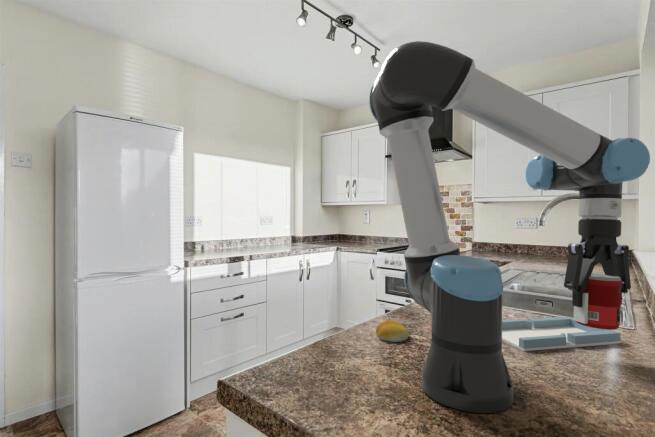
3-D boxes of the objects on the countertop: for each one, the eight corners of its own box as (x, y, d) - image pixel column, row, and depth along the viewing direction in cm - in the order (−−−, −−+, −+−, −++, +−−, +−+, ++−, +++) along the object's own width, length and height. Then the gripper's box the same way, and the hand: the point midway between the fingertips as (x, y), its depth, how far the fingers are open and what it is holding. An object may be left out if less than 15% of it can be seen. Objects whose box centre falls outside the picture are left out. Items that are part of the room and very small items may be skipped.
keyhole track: (523, 351, 81) (523, 340, 81) (482, 331, 96) (482, 321, 96) (620, 343, 86) (620, 332, 86) (567, 325, 101) (567, 316, 101)
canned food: (628, 331, 73) (629, 279, 73) (585, 328, 74) (586, 276, 74) (607, 321, 80) (608, 273, 80) (568, 318, 82) (569, 271, 82)
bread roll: (380, 343, 86) (380, 327, 86) (373, 332, 95) (373, 317, 95) (413, 342, 87) (413, 326, 87) (403, 331, 96) (403, 317, 96)
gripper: (575, 216, 72) (571, 327, 72) (655, 220, 76) (652, 325, 76) (545, 216, 79) (542, 317, 79) (620, 220, 83) (617, 315, 83)
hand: (596, 321), depth 77 cm, fingers closed on canned food, 8 cm apart
